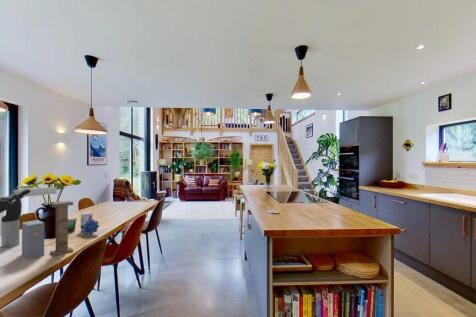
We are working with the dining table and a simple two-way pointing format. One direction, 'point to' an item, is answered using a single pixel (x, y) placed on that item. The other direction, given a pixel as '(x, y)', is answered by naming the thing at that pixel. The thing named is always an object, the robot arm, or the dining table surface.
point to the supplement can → (85, 218)
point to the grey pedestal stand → (61, 228)
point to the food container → (71, 224)
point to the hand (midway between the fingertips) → (28, 190)
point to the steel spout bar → (37, 191)
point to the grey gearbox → (32, 239)
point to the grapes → (90, 227)
